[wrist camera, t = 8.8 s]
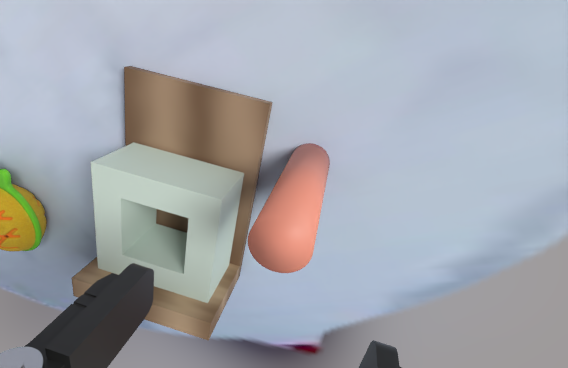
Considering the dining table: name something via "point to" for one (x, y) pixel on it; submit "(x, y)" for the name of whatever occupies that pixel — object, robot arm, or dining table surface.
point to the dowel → (291, 213)
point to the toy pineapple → (19, 217)
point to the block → (171, 198)
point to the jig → (200, 146)
